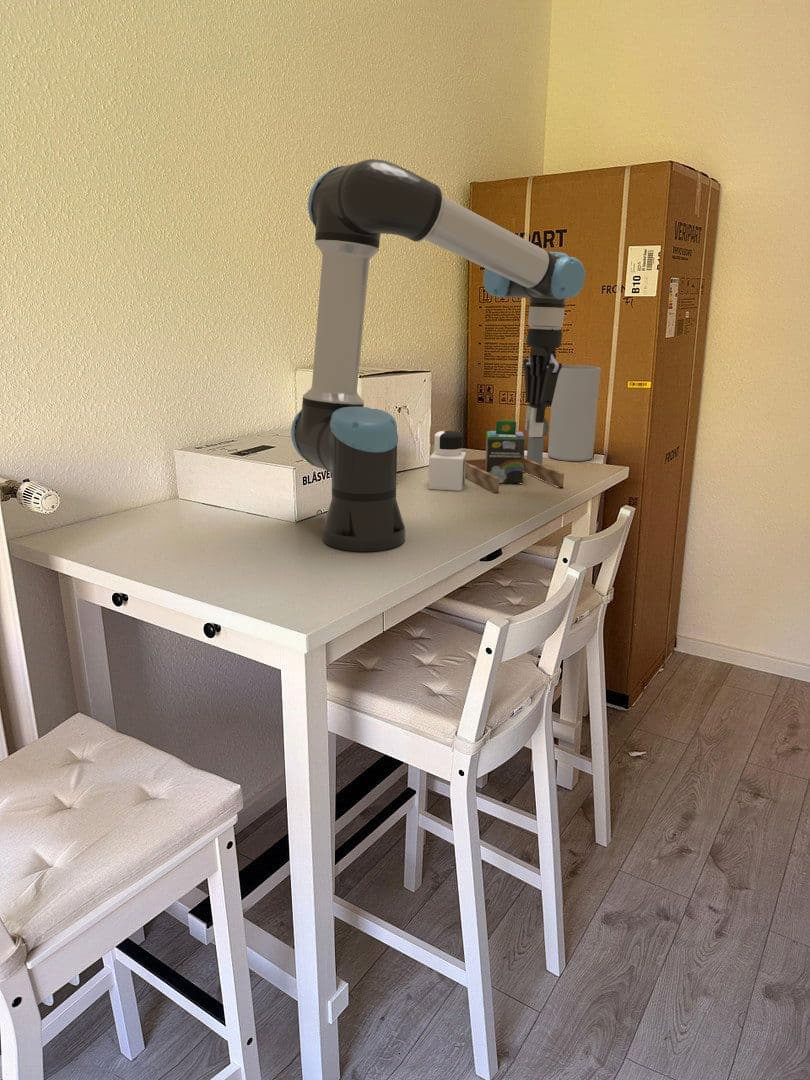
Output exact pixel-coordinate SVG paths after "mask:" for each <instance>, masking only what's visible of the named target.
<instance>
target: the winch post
mask: <svg viewBox="0 0 810 1080" xmlns="http://www.w3.org/2000/svg"><path fill="white" fill-rule="evenodd" d="M530 412H531V407H530V406H526V411H525V424H524V430H525V434H526V437H527V446H526V447H527V448H526V449H527V450H526V458H527V459H529V460H532V461H534V462H537V463H539V464H541V465H543V456H544V455H543V453H544V441H545V437H547V434H548V433H549V423H548V420H547V419H546V418H545V417H544V424H543V434H542V437H529V436H528V435H529V424H530Z"/></svg>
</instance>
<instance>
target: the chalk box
mask: <svg viewBox="0 0 810 1080" xmlns="http://www.w3.org/2000/svg"><path fill="white" fill-rule="evenodd" d="M495 426H496V428H495V430H487V431H486V433H485V459H486V463H485V471H486V472H488V473H490V474H492V475H494V476H496V477H498V478H499V484H504V483H523V484H524V473H523V467H524V458H525V450H526V449H525V448H526V447H525V446H526V436H525V435H524V433H523V430H517V421H515V420H497V421H496V425H495ZM503 426H509V427H510V429H508V430H505V429H503V428H502V427H503Z"/></svg>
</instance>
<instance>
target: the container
mask: <svg viewBox="0 0 810 1080" xmlns="http://www.w3.org/2000/svg"><path fill="white" fill-rule="evenodd" d="M463 441H464V435H463V434H462V433H460V431H456V430H441V431H438V432H435V434H434V447H433V449H434V451H433V452H432V454H431V455H430V456H429V464H428V465H429V466H428V473H429V474H428V489H429V490H437V491H438V490H439V491H453V492H454V491H455V492H461V491H462V490H463V489H464V486H465V483H466V478H465V469H466V460H467V452H465V451H463V443H464V442H463Z"/></svg>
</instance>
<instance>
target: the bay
mask: <svg viewBox="0 0 810 1080" xmlns="http://www.w3.org/2000/svg"><path fill="white" fill-rule="evenodd" d="M485 463H486V458H474V459H473V458H472V459H466V469H465V479H467V480H469V481H470V480H471V482H472V483H474V484H476V483H477V484H476V485H478V484H479V485H478V486H480V485H481V486H480V487H482V486H483V487H482V488H484V487H485V488H484V489H486V488H487V489H489V490H491V491H493V492H498V493H499V489H500V487H499V486H500V483H499V478H498V477H496V476H494V475H492V474H490V473H488V472H486V471H485ZM523 471H524V472H526V473H528V474H531V475H533V476H536V477H538V478H540V479H542V480H544V481H547V482H549V483H551V484H553V485H556V486H558V487H563V488H564V479H565V473H564V472H561V471H558V470H556V469H554V468H551V467H549V466H546V465H543V464H542V465H541V464H539V463H537V462H534V461H532V460H529V459H527V457H524V467H523ZM526 473H525V474H526ZM528 474H527V475H528ZM544 481H543V482H544ZM553 485H552V486H553ZM487 489H486V490H487ZM489 490H488V491H489ZM491 491H490V492H491ZM493 492H492V493H493Z"/></svg>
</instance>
